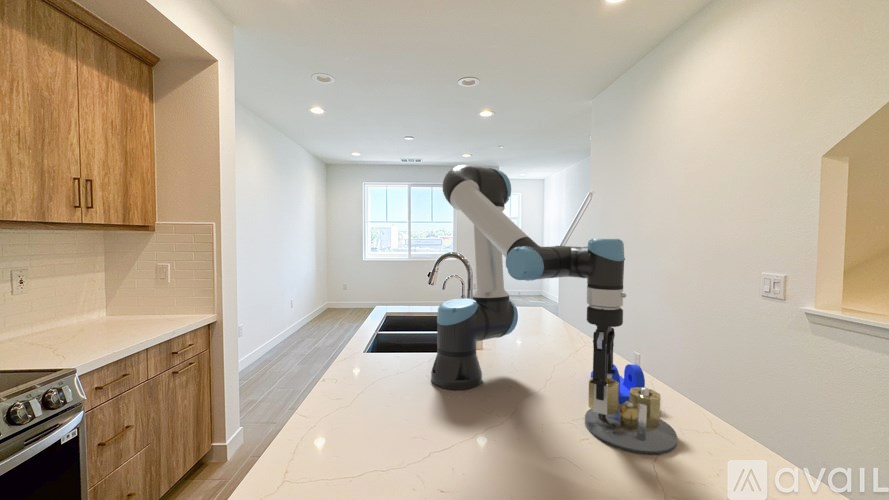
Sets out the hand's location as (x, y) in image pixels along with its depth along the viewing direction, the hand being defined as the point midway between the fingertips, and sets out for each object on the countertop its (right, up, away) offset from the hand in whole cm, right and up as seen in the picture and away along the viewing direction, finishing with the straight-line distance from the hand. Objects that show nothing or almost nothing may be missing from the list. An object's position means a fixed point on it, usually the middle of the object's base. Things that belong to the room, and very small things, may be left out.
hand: (602, 406), depth 82 cm
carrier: (+5, -4, -3) cm, 7 cm away
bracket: (+11, -4, +19) cm, 22 cm away
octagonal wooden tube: (0, 0, 0) cm, 0 cm away
